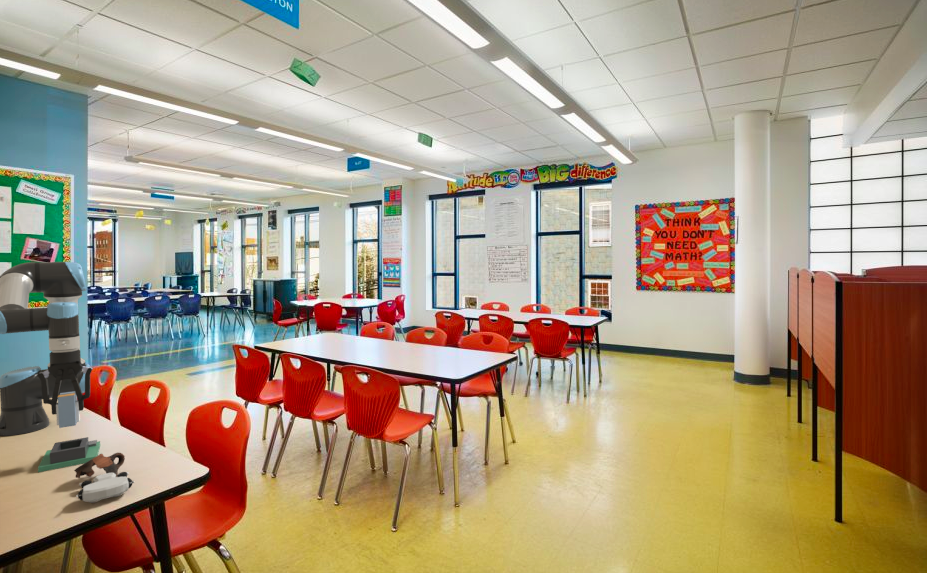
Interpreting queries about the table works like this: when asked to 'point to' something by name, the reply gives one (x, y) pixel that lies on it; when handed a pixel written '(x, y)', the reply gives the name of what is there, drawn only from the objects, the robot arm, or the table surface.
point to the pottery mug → (101, 465)
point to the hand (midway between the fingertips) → (68, 422)
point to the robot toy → (104, 487)
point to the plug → (67, 409)
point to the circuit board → (69, 454)
